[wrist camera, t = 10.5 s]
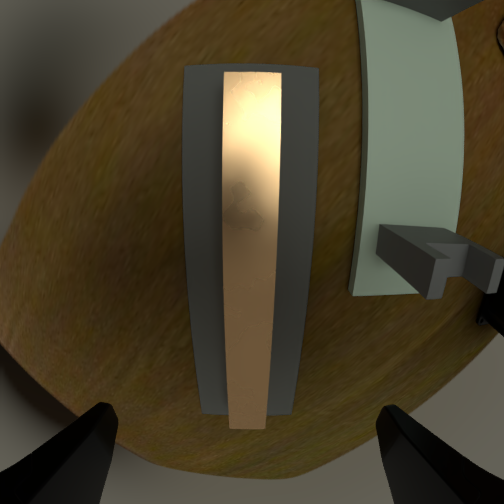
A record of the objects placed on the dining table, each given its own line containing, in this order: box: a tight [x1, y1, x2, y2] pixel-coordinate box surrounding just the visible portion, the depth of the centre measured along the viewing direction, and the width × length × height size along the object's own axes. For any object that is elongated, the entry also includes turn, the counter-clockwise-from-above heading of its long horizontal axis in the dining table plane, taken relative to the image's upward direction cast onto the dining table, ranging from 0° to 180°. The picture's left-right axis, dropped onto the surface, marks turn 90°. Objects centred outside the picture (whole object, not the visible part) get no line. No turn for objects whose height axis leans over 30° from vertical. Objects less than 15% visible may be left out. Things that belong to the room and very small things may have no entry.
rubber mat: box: [182, 64, 319, 415], centre depth 19 cm, size 27×8×1 cm, turn 179°
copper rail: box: [222, 72, 281, 429], centre depth 17 cm, size 24×3×3 cm, turn 179°
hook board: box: [348, 0, 504, 299], centre depth 12 cm, size 26×8×8 cm, turn 179°
